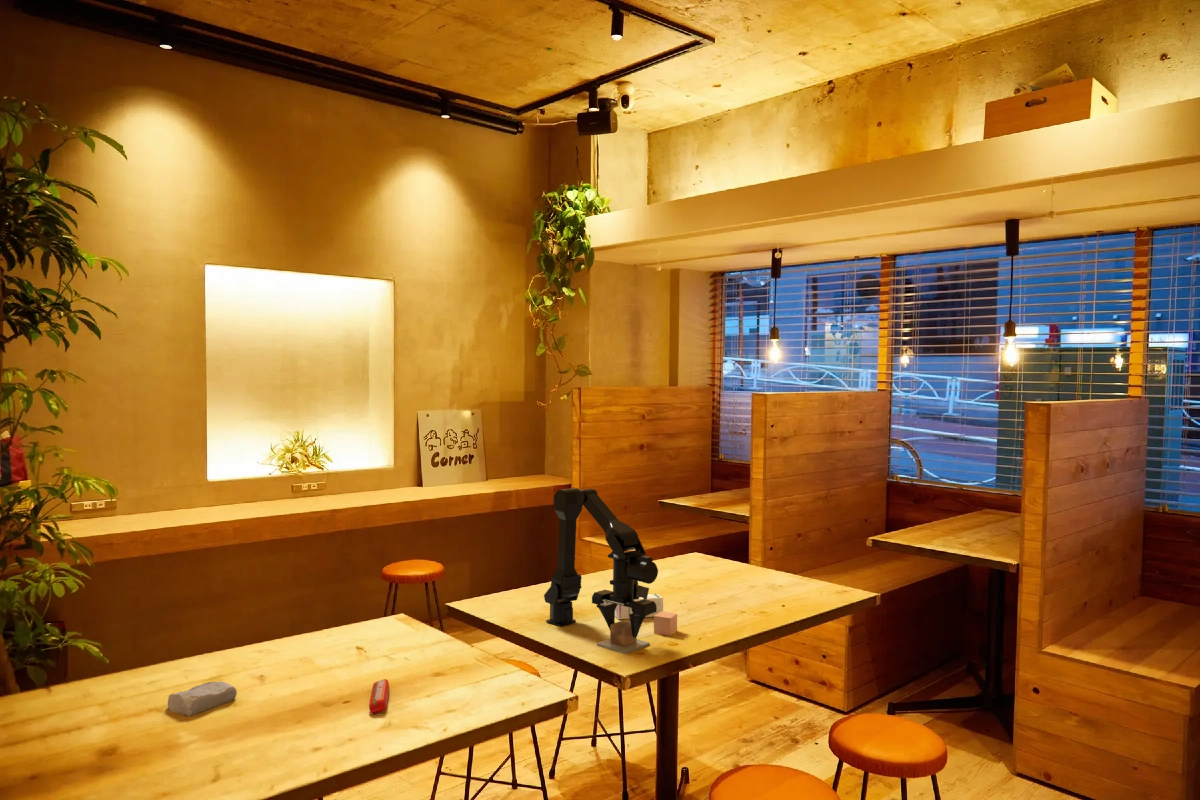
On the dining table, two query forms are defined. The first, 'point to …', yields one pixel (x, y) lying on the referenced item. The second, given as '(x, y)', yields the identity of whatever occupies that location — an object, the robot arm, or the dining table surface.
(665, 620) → the terracotta cube
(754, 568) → the dining table surface
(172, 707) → the stone block
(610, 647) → the coaster
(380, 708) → the candy bar
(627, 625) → the walnut cube
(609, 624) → the robot arm
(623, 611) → the syrup box
